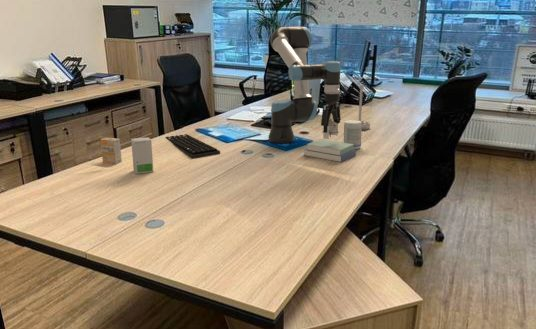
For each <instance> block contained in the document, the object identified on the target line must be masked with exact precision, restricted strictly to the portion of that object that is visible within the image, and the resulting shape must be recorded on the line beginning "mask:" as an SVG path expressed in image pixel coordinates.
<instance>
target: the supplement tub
mask: <svg viewBox="0 0 536 329" xmlns="http://www.w3.org/2000/svg"><path fill="white" fill-rule="evenodd" d="M361 121H362V120H361ZM361 121H359V120H354V119H353V120H351V119H350V120H345V121H344V122H343V123H344V125H343V143H349V144H354V150H358V149H361V148H362V131H363V130H362V122H361Z"/></svg>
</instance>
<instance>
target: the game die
mask: <svg viewBox="0 0 536 329" xmlns="http://www.w3.org/2000/svg"><path fill="white" fill-rule="evenodd" d="M339 124H340V123H338V124H337V123H335V122H334V121H333V120H332V118H330V120H329V124H328V126H329V138H331V136H334V135H333V134H334V133H336V132H337V129H338V130H339ZM337 133H339V131H338V132H337Z"/></svg>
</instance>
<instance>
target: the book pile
mask: <svg viewBox="0 0 536 329" xmlns="http://www.w3.org/2000/svg"><path fill="white" fill-rule="evenodd" d="M356 151H357V149H354V144H349V143H344V141H342V142H341V141H335V140H330V139H324V138H322V139H321V138H320V139H317V140H314V141H311V142H309V143H306V148H305V149H304V151H303V152H304V154H303V155H304V156H307V157H312V158H317V159H322V160H328V161H334V162H340V163H342V162H345V161H347V160H349V159H351V158H353V157H356V154H357V152H356Z"/></svg>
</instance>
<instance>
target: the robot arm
mask: <svg viewBox="0 0 536 329" xmlns="http://www.w3.org/2000/svg"><path fill="white" fill-rule="evenodd" d="M269 41H270V45H271V48H272V49H273V50H274V51H275V52H277V53H278V54H279V55H280V58H282V61H284V63H285V65H286V66H287V68H288V77H289V78H288V79H290V80H291V81H293V90H294V91H293V92H294V96H293V97H292V100H291V99H289V98H286V99H278V100H275V101H273V102H272V103H271V109H270V112H271V113H270V114H271V116H270V117H271V118H270V119H271V128H270V131H269V135H268V142H269V143H275V144H288V143H292V142H294V141H295V134H294V131H293V128H292V126H293V125H292V123H294V122H308V121H312V120H314V119H315V118H316V115H317V113H318V112H317V111H318V104H317V102H316V100H315V99H313V96H312V95H311V94H310V86H309V85H310V83H309V81H312V80H313V81H315V80H324V95H323V96H324V97H323V101H324V102H325V103H326V104H325V105H322V113H321V114H322V115H321V119H320V120H321V121H320V126H322V127H323V129H322V130H323V131H322V134H323V136H322V137H323V138H322V139H323V140H330V139H329V138H330V135H329V126H328V124H329V120H330V119H331V116H332V119H333V120H332V121H334V122H335V123H337V124H338V123H339V124H340V123H341V102H339V101H340V87H341V86H340V82H341V62H340V61H336V60H334V61H333V60H331V61H330V60H329V61H326V62H324V63H317V64H308V60H307V58H308V57H307V53H308V51H309V48H310V47H311V45H312V34H311V31H310V29H309V28H308V27H305V26H300V25H299V26H280V27H278V28H276V29H275V30H274V31H273V32H272V34H271V36H270V40H269ZM339 124H338V125H339ZM337 132H339V128H338V129H337ZM337 132H336V133H334V134H333V135H332V136H338V135H339V134H338V133H337Z"/></svg>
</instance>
